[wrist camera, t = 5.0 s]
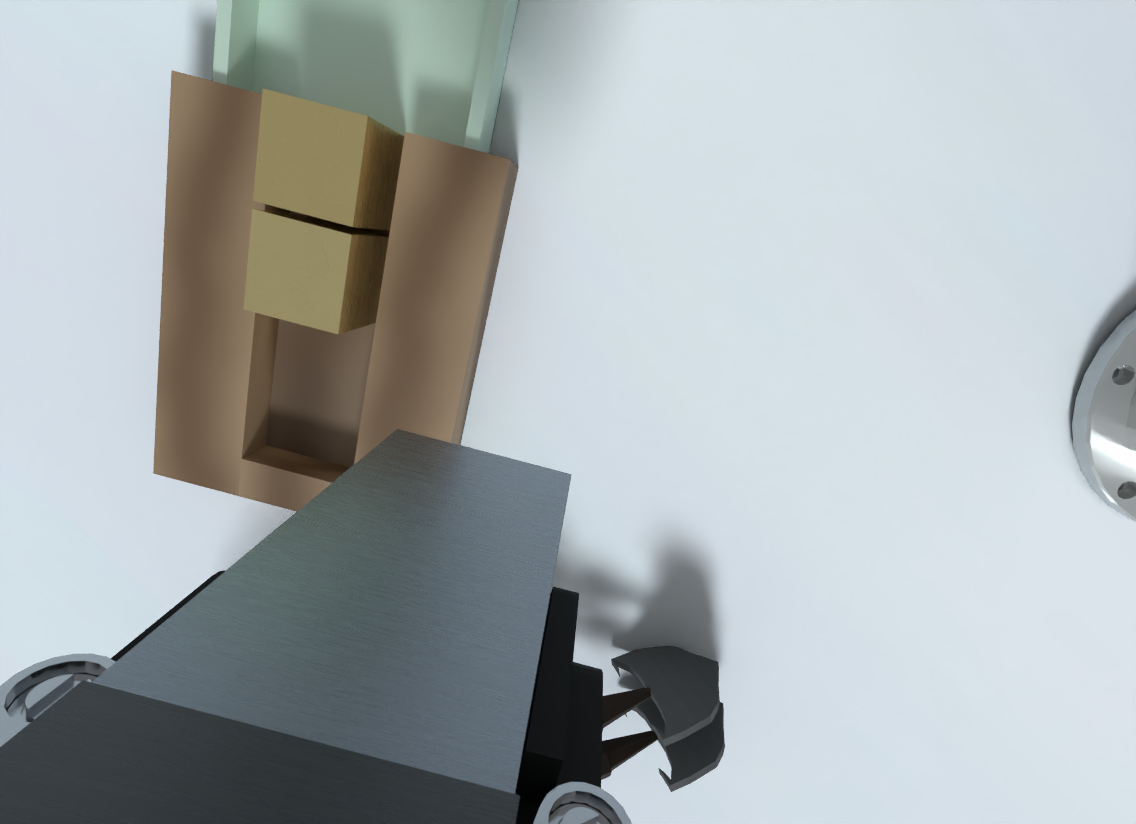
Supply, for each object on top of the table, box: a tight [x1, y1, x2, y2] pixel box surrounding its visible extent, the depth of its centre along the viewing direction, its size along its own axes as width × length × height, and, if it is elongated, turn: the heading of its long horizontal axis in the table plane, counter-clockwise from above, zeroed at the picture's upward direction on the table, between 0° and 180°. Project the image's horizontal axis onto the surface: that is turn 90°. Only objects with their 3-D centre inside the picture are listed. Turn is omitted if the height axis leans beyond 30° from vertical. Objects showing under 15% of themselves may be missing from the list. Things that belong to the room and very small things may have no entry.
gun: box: [601, 646, 725, 792], centre depth 30 cm, size 5×27×15 cm, turn 100°
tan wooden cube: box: [253, 89, 404, 230], centre depth 23 cm, size 4×4×4 cm
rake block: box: [0, 429, 571, 824], centre depth 9 cm, size 4×5×11 cm
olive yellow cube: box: [244, 209, 389, 334], centre depth 25 cm, size 4×4×4 cm
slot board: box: [153, 71, 518, 511], centre depth 27 cm, size 14×18×2 cm
